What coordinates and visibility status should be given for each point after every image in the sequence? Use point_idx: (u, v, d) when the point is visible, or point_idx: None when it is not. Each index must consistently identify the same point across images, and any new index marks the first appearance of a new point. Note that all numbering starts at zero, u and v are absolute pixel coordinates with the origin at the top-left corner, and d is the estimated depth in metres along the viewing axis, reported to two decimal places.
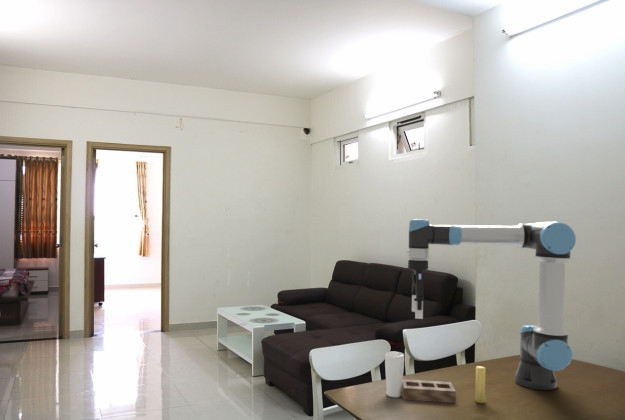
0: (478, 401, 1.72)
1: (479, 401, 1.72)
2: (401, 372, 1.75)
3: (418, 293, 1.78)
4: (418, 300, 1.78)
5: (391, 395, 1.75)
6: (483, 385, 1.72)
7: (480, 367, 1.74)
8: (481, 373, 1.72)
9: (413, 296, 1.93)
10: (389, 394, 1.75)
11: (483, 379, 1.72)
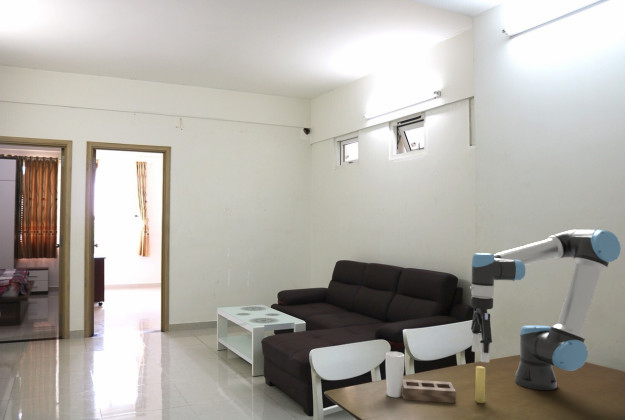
0: (478, 401, 1.72)
1: (479, 401, 1.72)
2: (401, 372, 1.75)
3: (485, 335, 1.65)
4: (485, 342, 1.65)
5: (391, 395, 1.75)
6: (483, 385, 1.72)
7: (480, 367, 1.74)
8: (481, 373, 1.72)
9: (474, 335, 1.80)
10: (389, 394, 1.75)
11: (483, 379, 1.72)
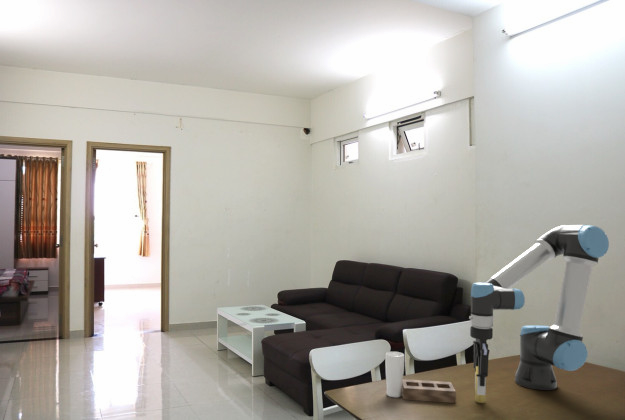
0: (478, 401, 1.72)
1: (479, 401, 1.72)
2: (401, 372, 1.75)
3: (482, 370, 1.69)
4: (481, 376, 1.70)
5: (391, 395, 1.75)
6: None
7: None
8: None
9: None
10: (389, 394, 1.75)
11: None
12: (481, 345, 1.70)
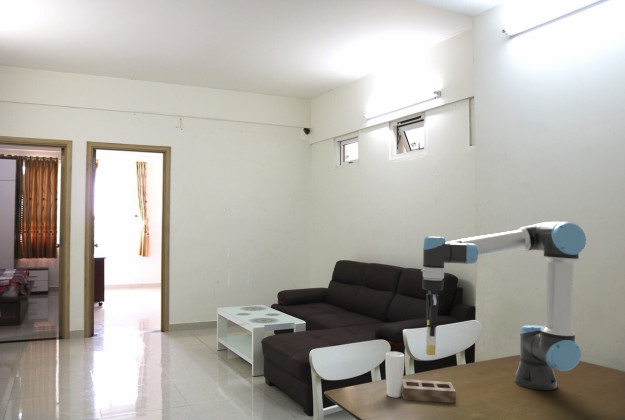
0: (429, 353, 1.76)
1: (430, 353, 1.76)
2: (401, 372, 1.75)
3: (431, 320, 1.72)
4: (431, 326, 1.74)
5: (391, 395, 1.75)
6: None
7: None
8: None
9: None
10: (389, 394, 1.75)
11: None
12: (431, 296, 1.74)
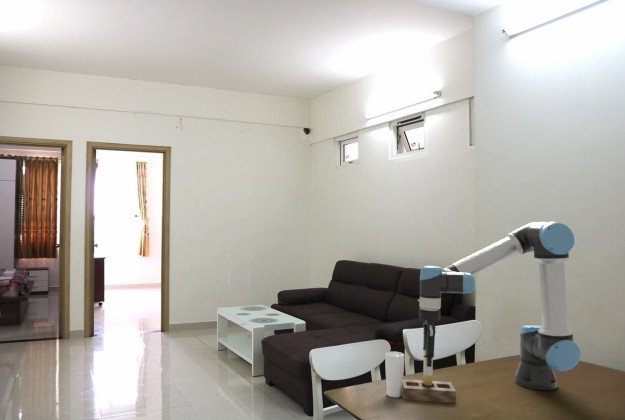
0: (426, 384, 1.76)
1: (427, 383, 1.76)
2: (401, 372, 1.75)
3: (428, 351, 1.73)
4: (428, 357, 1.74)
5: (391, 395, 1.75)
6: None
7: None
8: None
9: None
10: (389, 394, 1.75)
11: None
12: (428, 326, 1.74)
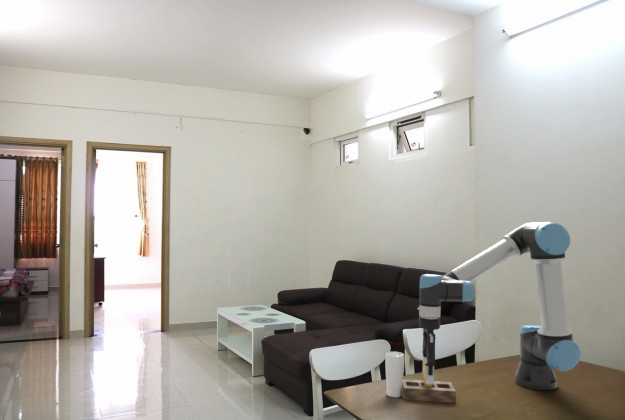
0: None
1: None
2: (401, 372, 1.75)
3: (429, 358, 1.70)
4: (429, 365, 1.71)
5: (391, 395, 1.75)
6: None
7: None
8: None
9: (424, 359, 1.82)
10: (389, 394, 1.75)
11: None
12: (428, 334, 1.74)
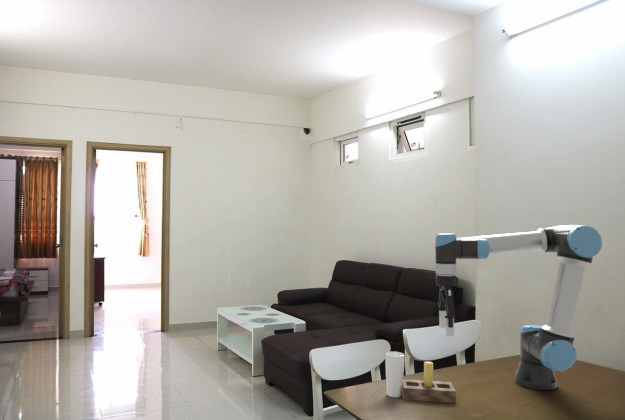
0: None
1: None
2: (401, 372, 1.75)
3: (449, 310, 1.73)
4: (449, 317, 1.74)
5: (391, 395, 1.75)
6: (431, 380, 1.76)
7: (428, 362, 1.78)
8: (428, 368, 1.76)
9: (440, 312, 1.89)
10: (389, 394, 1.75)
11: (431, 374, 1.76)
12: (445, 290, 1.79)
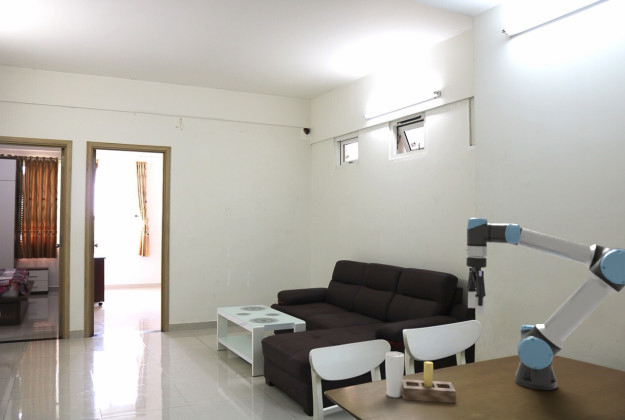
0: None
1: None
2: (401, 372, 1.75)
3: (479, 289, 1.84)
4: (479, 296, 1.84)
5: (391, 395, 1.75)
6: (431, 380, 1.76)
7: (428, 362, 1.78)
8: (428, 368, 1.76)
9: (470, 293, 1.99)
10: (389, 394, 1.75)
11: (431, 374, 1.76)
12: (476, 271, 1.89)
